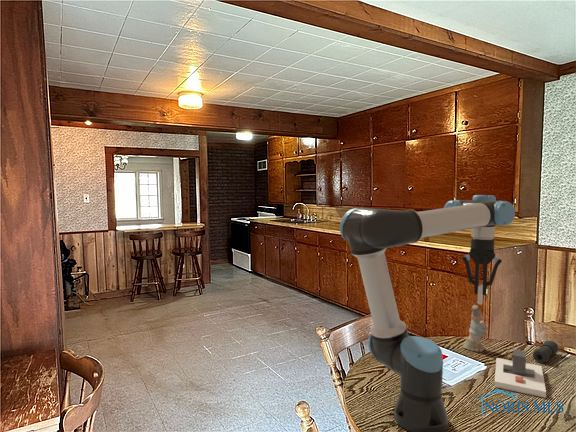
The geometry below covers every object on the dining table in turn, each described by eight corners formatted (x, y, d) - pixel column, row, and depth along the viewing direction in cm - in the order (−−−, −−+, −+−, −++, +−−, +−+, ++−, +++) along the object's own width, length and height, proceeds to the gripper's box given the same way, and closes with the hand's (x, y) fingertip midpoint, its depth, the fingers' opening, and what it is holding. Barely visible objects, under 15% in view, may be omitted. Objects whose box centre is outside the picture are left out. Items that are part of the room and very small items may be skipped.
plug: (525, 380, 139) (525, 357, 138) (512, 377, 141) (512, 355, 140) (524, 372, 145) (525, 349, 145) (512, 369, 147) (513, 347, 147)
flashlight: (547, 365, 151) (547, 352, 151) (531, 361, 156) (531, 348, 155) (558, 354, 162) (559, 342, 161) (543, 350, 166) (544, 338, 165)
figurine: (472, 353, 163) (473, 306, 162) (459, 346, 171) (460, 301, 170) (490, 351, 165) (491, 305, 163) (477, 344, 173) (478, 299, 172)
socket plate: (545, 397, 128) (546, 389, 127) (494, 386, 135) (494, 379, 135) (541, 371, 147) (541, 363, 146) (496, 362, 154) (496, 355, 154)
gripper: (503, 238, 138) (500, 303, 139) (463, 236, 145) (461, 298, 146) (503, 240, 132) (500, 308, 133) (461, 237, 138) (458, 303, 140)
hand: (479, 303), depth 139 cm, fingers closed
